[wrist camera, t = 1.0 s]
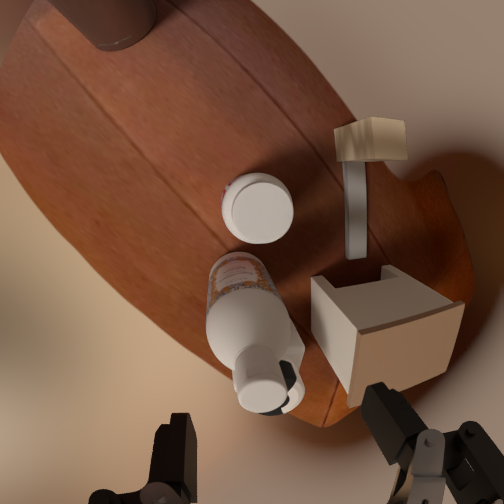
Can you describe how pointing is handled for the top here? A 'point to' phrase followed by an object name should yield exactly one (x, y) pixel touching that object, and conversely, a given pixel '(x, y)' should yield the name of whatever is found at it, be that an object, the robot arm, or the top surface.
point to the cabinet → (384, 331)
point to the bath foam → (248, 329)
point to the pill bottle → (257, 208)
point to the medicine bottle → (289, 374)
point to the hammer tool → (353, 158)
